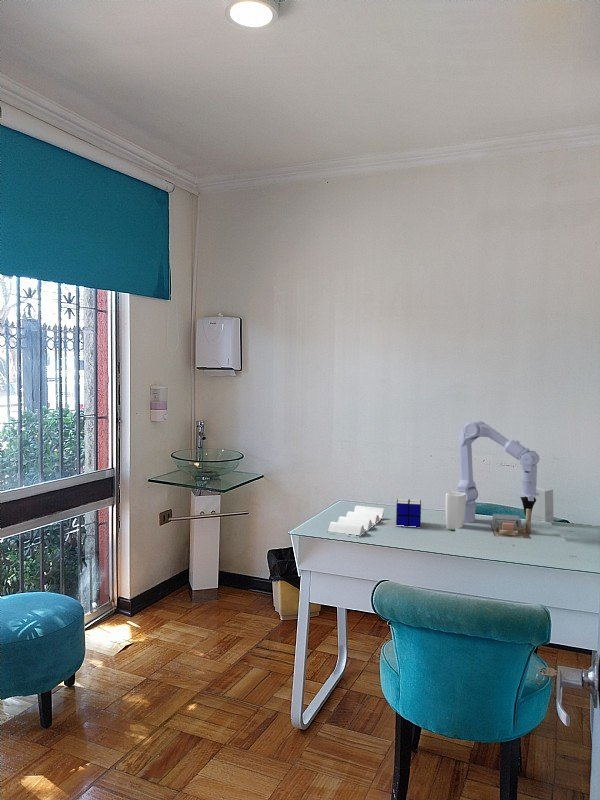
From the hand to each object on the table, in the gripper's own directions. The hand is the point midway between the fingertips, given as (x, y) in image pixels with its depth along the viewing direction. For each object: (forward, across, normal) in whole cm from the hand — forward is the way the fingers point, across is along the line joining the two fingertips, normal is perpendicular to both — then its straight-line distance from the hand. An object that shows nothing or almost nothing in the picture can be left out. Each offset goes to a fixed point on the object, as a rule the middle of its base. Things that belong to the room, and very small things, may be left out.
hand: (527, 515), depth 250 cm
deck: (+8, -1, +7) cm, 10 cm away
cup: (+8, +1, +28) cm, 29 cm away
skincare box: (+8, +24, -9) cm, 27 cm away
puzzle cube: (+8, +4, +47) cm, 48 cm away
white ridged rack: (+9, -4, +68) cm, 69 cm away
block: (+6, -5, +8) cm, 11 cm away
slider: (+6, -5, +5) cm, 10 cm away
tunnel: (+6, 0, +8) cm, 10 cm away
